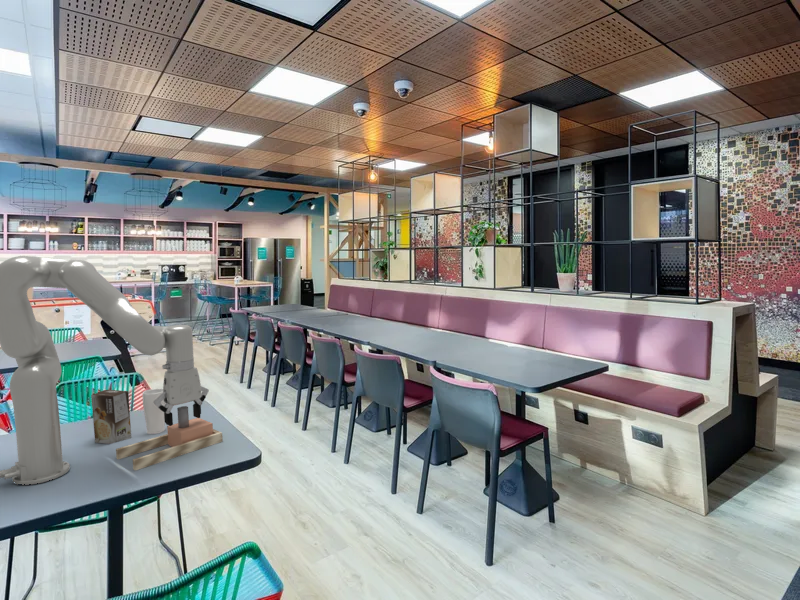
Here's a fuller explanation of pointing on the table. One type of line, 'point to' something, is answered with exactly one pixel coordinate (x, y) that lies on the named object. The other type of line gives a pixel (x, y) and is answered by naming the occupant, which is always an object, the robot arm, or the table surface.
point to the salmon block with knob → (187, 428)
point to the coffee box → (111, 416)
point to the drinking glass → (153, 411)
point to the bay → (165, 453)
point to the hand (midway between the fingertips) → (183, 420)
